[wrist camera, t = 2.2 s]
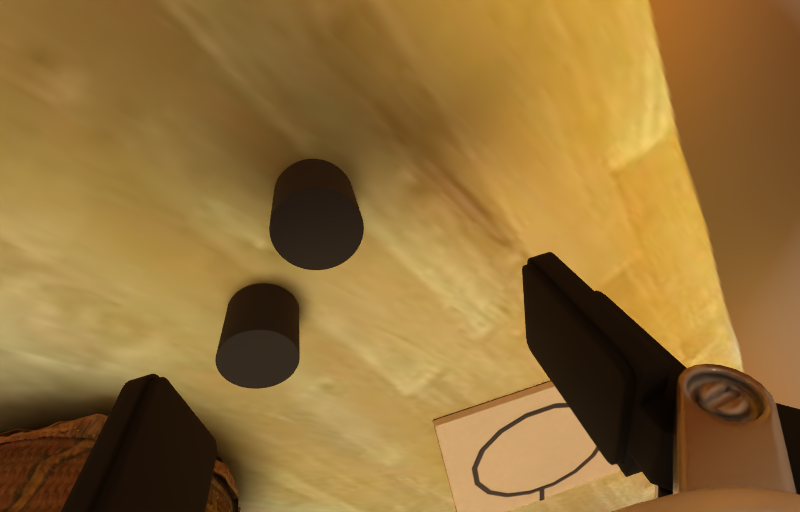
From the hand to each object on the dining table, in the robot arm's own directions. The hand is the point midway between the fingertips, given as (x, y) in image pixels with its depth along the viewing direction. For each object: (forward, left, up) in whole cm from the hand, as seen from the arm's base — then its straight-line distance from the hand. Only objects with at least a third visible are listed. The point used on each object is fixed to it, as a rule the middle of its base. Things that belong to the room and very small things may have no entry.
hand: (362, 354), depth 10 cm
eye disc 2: (0, -1, -12) cm, 12 cm away
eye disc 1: (+6, -6, -12) cm, 15 cm away
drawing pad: (+30, +11, -12) cm, 34 cm away
